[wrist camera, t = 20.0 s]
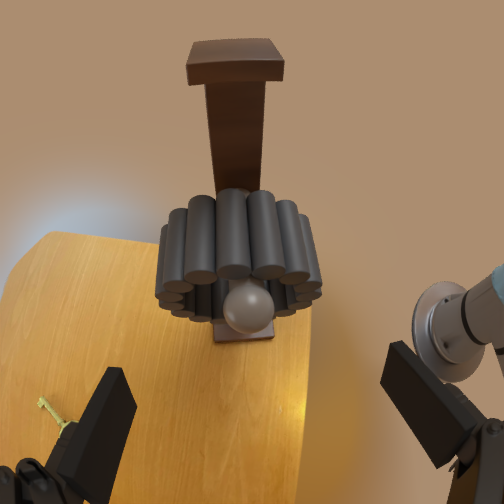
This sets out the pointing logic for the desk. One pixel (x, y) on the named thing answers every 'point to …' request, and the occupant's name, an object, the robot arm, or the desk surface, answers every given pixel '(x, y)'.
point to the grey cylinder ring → (235, 254)
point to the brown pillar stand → (238, 153)
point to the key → (53, 413)
